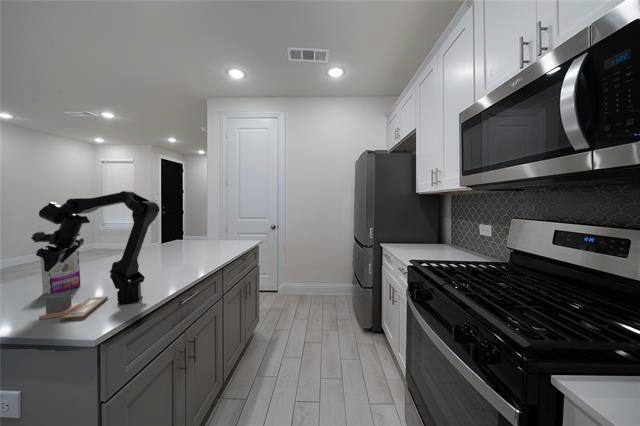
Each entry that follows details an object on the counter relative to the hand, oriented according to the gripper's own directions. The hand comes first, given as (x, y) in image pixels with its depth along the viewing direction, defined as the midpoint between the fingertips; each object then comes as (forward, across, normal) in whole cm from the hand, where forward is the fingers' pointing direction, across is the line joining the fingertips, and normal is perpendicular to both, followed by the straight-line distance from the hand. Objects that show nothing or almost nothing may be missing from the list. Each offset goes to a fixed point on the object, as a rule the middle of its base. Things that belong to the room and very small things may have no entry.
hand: (54, 266), depth 100 cm
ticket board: (+4, +15, +18) cm, 24 cm away
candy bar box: (+16, -13, +2) cm, 21 cm away
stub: (+7, +15, +12) cm, 20 cm away
